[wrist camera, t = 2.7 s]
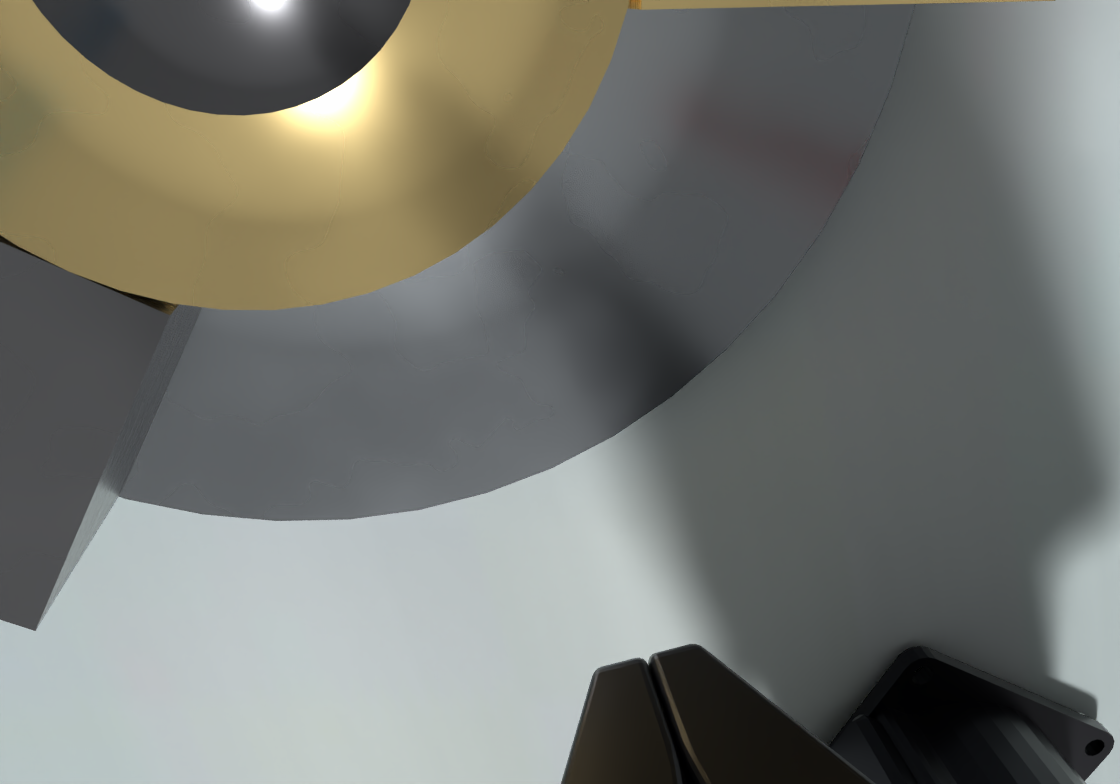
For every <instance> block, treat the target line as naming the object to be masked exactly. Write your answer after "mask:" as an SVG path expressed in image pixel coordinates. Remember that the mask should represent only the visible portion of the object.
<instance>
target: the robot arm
mask: <svg viewBox="0 0 1120 784" xmlns="http://www.w3.org/2000/svg"><path fill="white" fill-rule="evenodd" d="M648 665H649V666H648ZM923 666H924V667H923ZM920 667H923V668H922V669H921V670H920V671H918V672H915V673H914V671H915V670H917V669H918V668H920ZM1113 745H1114V739H1113V736H1112V735H1111V734H1110V733H1109V732H1108V731H1107V730H1106V729H1105V727H1104V726H1103V725H1102V724H1100V723H1099V722H1098V721H1096V720H1094V719H1091V718H1089V717H1087V716H1085V715H1082V714H1080V713H1078V712H1075V711H1073V710H1071V709H1068V708H1066V707H1064V706H1061V705H1059V704H1057V703H1054V702H1052V701H1050V700H1047V699H1045V698H1043V697H1041V696H1038V695H1036V694H1034V693H1031V692H1029V691H1027V690H1024V689H1022V688H1020V687H1017V686H1015V685H1013V684H1010V683H1008V682H1006V681H1004V680H1001V679H999V678H997V677H994V676H992V675H990V674H987V673H985V672H983V671H980V670H978V669H976V668H973V667H971V666H969V665H966V664H964V663H962V662H960V661H957V660H955V659H953V658H950V657H948V656H946V655H943V654H941V653H939V652H936V651H934V650H932V649H929V648H927V647H922V646H917V647H912V648H909V649H907V650H905V651H904V652H903V653H902V654H900V655H899V656H898V657H897V659H896V660H895V661H894V663H893V664H892V665H891V666H890V668H889V669H888V670H887V672H886V673H885V674H884V675H883V677H882V678H881V679H880V681H879V682H878V683H877V684H876V686H875V687H874V688H873V690H872V691H871V692H870V693H869V695H868V696H867V697H866V699H865V700H864V701H863V703H862V704H861V705H860V706H859V708H858V709H857V710H856V712H855V713H854V714H853V715H852V717H851V718H850V719H849V721H848V722H847V723H846V724H845V726H844V727H843V728H842V730H841V731H840V732H839V733H838V735H837V736H836V737H835V739H834V740H833V741H832V742H831V744H830V745H829V746H827V745H826V744H825V743H823V742H822V741H821V740H820V739H818V738H817V737H816V736H814V735H813V734H812V733H811V732H809V731H808V730H807V729H806V728H804V727H803V726H802V725H801V724H799V723H798V722H797V721H795V720H794V719H793V718H792V717H790V716H789V715H788V714H787V713H785V712H784V711H783V710H782V709H780V708H779V707H778V706H776V705H775V704H774V703H773V702H771V701H770V700H769V699H768V698H766V697H765V696H764V695H763V694H761V693H760V692H759V691H758V690H756V689H755V688H754V687H752V686H751V685H750V684H749V683H747V682H746V681H745V680H744V679H742V678H741V677H740V676H739V675H737V674H736V673H735V672H733V671H732V670H731V669H730V668H728V667H727V666H726V665H725V664H723V663H722V662H721V661H720V660H718V659H717V658H716V657H715V656H713V655H712V654H711V653H709V652H708V651H707V650H706V649H704V648H703V647H702V646H700V645H697V644H689V645H685V646H681V647H677V648H673V649H669V650H665V651H662V652H658V653H655V654H652V656H651V657H650V658H649V661H648V664H647V662H646V661H645V660H644V659H641V658H634V659H630V660H626V661H622V662H618V663H615V664H611V665H607V666H603V667H600V668H598V669H597V670H596V671H595V672H594V674H593V676H592V679H591V682H590V686H589V689H588V693H587V696H586V699H585V703H584V706H583V710H582V713H581V717H580V720H579V723H578V727H577V730H576V734H575V737H574V741H573V744H572V747H571V751H570V754H569V758H568V761H567V765H566V768H565V771H564V775H563V778H562V782H561V784H1086V783H1085V782H1084V781H1085V780H1086V779H1087V778H1088V777H1089V776H1090V775H1091V773H1092V772H1093V771H1094V770H1095V769H1096V768H1097V767H1098V766H1099V764H1100V763H1101V762H1102V761H1103V760H1104V759H1105V758H1106V757H1107V756H1108V754H1109V753H1110V752H1111V750H1112V748H1113Z"/></svg>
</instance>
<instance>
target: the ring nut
mask: <svg viewBox="0 0 1120 784" xmlns="http://www.w3.org/2000/svg"><path fill="white" fill-rule="evenodd" d="M1016 1H1055V0H0V620H3V621H6V622H10V623H13V624H16V625H19V626H22V627H25V628H28V629H31V630H34V631H36V629H37V627H38V626H39V624H40V622H41V621H42V619H43V618H44V616H45V614H46V613H47V611H48V610H49V608H50V606H51V605H52V603H53V601H54V600H55V598H56V597H57V595H58V593H59V592H60V590H61V589H62V587H63V585H64V584H65V582H66V580H67V579H68V577H69V576H70V574H71V572H72V571H73V569H74V567H75V566H76V564H77V563H78V561H79V559H80V558H81V556H82V555H83V553H84V551H85V550H86V548H87V546H88V545H89V543H90V542H91V540H92V538H93V537H94V535H95V534H96V532H97V530H98V529H99V527H100V525H101V524H102V522H103V521H104V519H105V517H106V516H107V514H108V512H109V511H110V509H111V508H112V506H113V504H114V503H115V501H116V500H117V498H118V496H119V495H120V493H121V491H122V490H123V488H124V486H125V483H126V481H127V479H128V476H129V474H130V472H131V470H132V467H133V465H134V463H135V460H136V458H137V456H138V454H139V451H140V449H141V447H142V444H143V442H144V440H145V438H146V435H147V433H148V431H149V428H150V426H151V424H152V422H153V419H154V417H155V415H156V412H157V410H158V408H159V406H160V403H161V401H162V399H163V396H164V394H165V392H166V390H167V387H168V385H169V383H170V380H171V378H172V376H173V374H174V371H175V369H176V367H177V364H178V362H179V360H180V358H181V355H182V353H183V351H184V348H185V346H186V344H187V342H188V339H189V337H190V335H191V332H192V330H193V328H194V326H195V323H196V321H197V319H198V316H199V314H200V312H201V310H202V307H205V308H213V309H220V310H279V309H288V308H296V307H305V306H314V305H322V304H326V303H330V302H334V301H339V300H343V299H347V298H351V297H355V296H359V295H363V294H367V293H370V292H373V291H376V290H378V289H381V288H383V287H386V286H388V285H391V284H394V283H396V282H399V281H401V280H404V279H407V278H409V277H412V276H414V275H416V274H418V273H420V272H422V271H423V270H425V269H427V268H429V267H431V266H433V265H434V264H436V263H438V262H440V261H442V260H444V259H445V258H447V257H449V256H451V255H453V254H455V253H456V252H458V251H459V250H460V249H462V248H463V247H465V246H466V245H467V244H469V243H470V242H471V241H473V240H474V239H476V238H477V237H478V236H480V235H481V234H482V233H484V232H485V231H487V230H488V229H489V228H491V227H492V226H493V225H495V224H496V223H497V222H498V221H499V220H500V219H501V218H502V217H503V216H504V215H505V214H506V213H507V212H509V211H510V210H511V209H512V208H513V207H514V206H515V205H516V204H517V203H518V202H519V201H520V200H521V199H522V198H523V197H524V196H525V195H526V194H527V193H529V192H530V191H531V189H532V188H533V187H534V186H535V184H536V183H537V182H538V181H539V180H540V178H541V177H542V176H543V175H544V173H545V172H546V171H547V170H548V168H549V167H550V166H551V165H552V164H553V162H554V161H555V160H556V159H557V157H558V156H559V155H560V154H561V152H562V151H563V149H564V148H565V146H566V145H567V143H568V141H569V140H570V138H571V137H572V135H573V133H574V132H575V130H576V128H577V127H578V125H579V124H580V122H581V120H582V119H583V117H584V116H585V114H586V112H587V111H588V109H589V107H590V105H591V103H592V101H593V99H594V96H595V94H596V92H597V90H598V88H599V85H600V83H601V81H602V79H603V77H604V75H605V72H606V70H607V68H608V66H609V64H610V61H611V59H612V56H613V53H614V50H615V47H616V43H617V40H618V37H619V34H620V31H621V28H622V24H623V21H624V18H625V15H626V12H627V9H639V10H651V9H697V8H742V7H788V6H834V5H879V4H925V3H971V2H1016Z"/></svg>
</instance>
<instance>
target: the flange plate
mask: <svg viewBox="0 0 1120 784" xmlns="http://www.w3.org/2000/svg"><path fill="white" fill-rule="evenodd" d="M914 7H915V4H879V5H834V6H788V7H742V8H697V9H651V10H639V9H627V12H626V15H625V18H624V21H623V24H622V28H621V31H620V34H619V37H618V40H617V43H616V47H615V50H614V53H613V56H612V59H611V61H610V64H609V66H608V68H607V70H606V72H605V75H604V77H603V79H602V81H601V83H600V85H599V88H598V90H597V92H596V94H595V96H594V99H593V101H592V103H591V105H590V107H589V109H588V111H587V112H586V114H585V116H584V117H583V119H582V120H581V122H580V124H579V125H578V127H577V128H576V130H575V132H574V133H573V135H572V137H571V138H570V140H569V141H568V143H567V145H566V146H565V148H564V149H563V151H562V152H561V154H560V155H559V156H558V157H557V159H556V160H555V161H554V162H553V164H552V165H551V166H550V167H549V168H548V170H547V171H546V172H545V173H544V175H543V176H542V177H541V178H540V180H539V181H538V182H537V183H536V184H535V186H534V187H533V188H532V189H531V191H530V192H529V193H527V194H526V195H525V196H524V197H523V198H522V199H521V200H520V201H519V202H518V203H517V204H516V205H515V206H514V207H513V208H512V209H511V210H510V211H509V212H507V213H506V214H505V215H504V216H503V217H502V218H501V219H500V220H499V221H498V222H497V223H496V224H495V225H493V226H492V227H491V228H489V229H488V230H487V231H485V232H484V233H482V234H481V235H480V236H478V237H477V238H476V239H474V240H473V241H471V242H470V243H469V244H467V245H466V246H465V247H463V248H462V249H460V250H459V251H458V252H456V253H455V254H453V255H451V256H449V257H447V258H445V259H444V260H442V261H440V262H438V263H436V264H434V265H433V266H431V267H429V268H427V269H425V270H423V271H422V272H420V273H418V274H416V275H414V276H412V277H409V278H407V279H404V280H401V281H399V282H396V283H394V284H391V285H388V286H386V287H383V288H381V289H378V290H376V291H373V292H370V293H367V294H363V295H359V296H355V297H351V298H347V299H343V300H339V301H334V302H330V303H326V304H322V305H314V306H305V307H296V308H288V309H279V310H220V309H213V308H205V307H202V310H201V312H200V314H199V316H198V319H197V321H196V323H195V326H194V328H193V330H192V332H191V335H190V337H189V339H188V342H187V344H186V346H185V348H184V351H183V353H182V355H181V358H180V360H179V362H178V364H177V367H176V369H175V371H174V374H173V376H172V378H171V380H170V383H169V385H168V387H167V390H166V392H165V394H164V396H163V399H162V401H161V403H160V406H159V408H158V410H157V412H156V415H155V417H154V419H153V422H152V424H151V426H150V428H149V431H148V433H147V435H146V438H145V440H144V442H143V444H142V447H141V449H140V451H139V454H138V456H137V458H136V460H135V463H134V465H133V467H132V470H131V472H130V474H129V476H128V479H127V481H126V483H125V486H124V488H123V490H122V491H121V493H120V495H119V497H122V498H125V499H129V500H134V501H139V502H144V503H149V504H154V505H159V506H164V507H169V508H174V509H179V510H184V511H189V512H194V513H199V514H206V515H217V516H228V517H239V518H251V519H262V520H273V521H292V520H338V519H355V518H362V517H370V516H377V515H385V514H392V513H399V512H407V511H414V510H421V509H425V508H428V507H432V506H436V505H440V504H444V503H448V502H452V501H456V500H460V499H464V498H468V497H472V496H476V495H480V494H484V493H488V492H490V491H493V490H495V489H498V488H501V487H503V486H506V485H509V484H511V483H514V482H516V481H519V480H522V479H524V478H527V477H530V476H532V475H535V474H537V473H540V472H543V471H545V470H548V469H551V468H553V467H555V466H557V465H559V464H561V463H563V462H564V461H566V460H568V459H570V458H572V457H574V456H576V455H578V454H580V453H582V452H584V451H586V450H588V449H589V448H591V447H593V446H595V445H597V444H599V443H601V442H603V441H605V440H607V439H609V438H611V437H612V436H614V435H616V434H617V433H619V432H620V431H622V430H623V429H625V428H626V427H628V426H629V425H630V424H632V423H633V422H635V421H636V420H638V419H639V418H641V417H642V416H644V415H645V414H647V413H648V412H650V411H651V410H653V409H654V408H655V407H657V406H658V405H660V404H661V403H663V402H664V401H666V400H667V399H669V398H670V397H672V396H673V395H674V394H675V393H676V392H678V391H679V390H680V389H681V388H682V387H683V386H684V385H686V384H687V383H688V382H689V381H690V380H691V379H693V378H694V377H695V376H696V375H697V374H698V373H699V372H701V371H702V370H703V369H704V368H705V367H706V366H708V365H709V364H710V363H711V362H712V361H713V360H714V359H716V358H717V357H718V356H719V355H720V354H721V353H723V352H724V351H725V350H726V349H727V348H728V347H729V346H730V345H731V344H732V342H733V341H734V340H735V339H736V338H737V337H738V336H739V335H740V334H741V333H742V331H743V330H744V329H745V328H746V327H747V326H748V325H749V324H750V323H751V322H752V321H753V319H754V318H755V317H756V316H757V315H758V314H759V313H760V312H761V311H762V310H763V308H764V307H765V306H766V305H767V304H768V303H769V302H770V301H771V300H772V299H773V298H774V296H775V295H776V294H777V293H778V291H779V290H780V289H781V287H782V286H783V284H784V283H785V282H786V280H787V279H788V277H789V276H790V275H791V273H792V272H793V270H794V269H795V268H796V266H797V265H798V264H799V262H800V261H801V259H802V258H803V257H804V255H805V254H806V252H807V251H808V250H809V248H810V247H811V245H812V244H813V243H814V241H815V240H816V239H817V237H818V236H819V234H820V233H821V231H822V229H823V228H824V226H825V224H826V222H827V220H828V219H829V217H830V215H831V213H832V211H833V210H834V208H835V206H836V204H837V203H838V201H839V199H840V197H841V195H842V194H843V192H844V190H845V188H846V186H847V185H848V183H849V181H850V179H851V177H852V176H853V174H854V172H855V170H856V169H857V167H858V165H859V163H860V160H861V158H862V156H863V153H864V151H865V149H866V146H867V144H868V141H869V139H870V137H871V134H872V132H873V129H874V127H875V125H876V122H877V120H878V118H879V115H880V113H881V110H882V108H883V106H884V103H885V101H886V98H887V96H888V94H889V91H890V89H891V86H892V82H893V79H894V76H895V72H896V69H897V65H898V62H899V59H900V55H901V52H902V48H903V45H904V41H905V38H906V35H907V31H908V28H909V24H910V21H911V18H912V14H913V11H914Z"/></svg>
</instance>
